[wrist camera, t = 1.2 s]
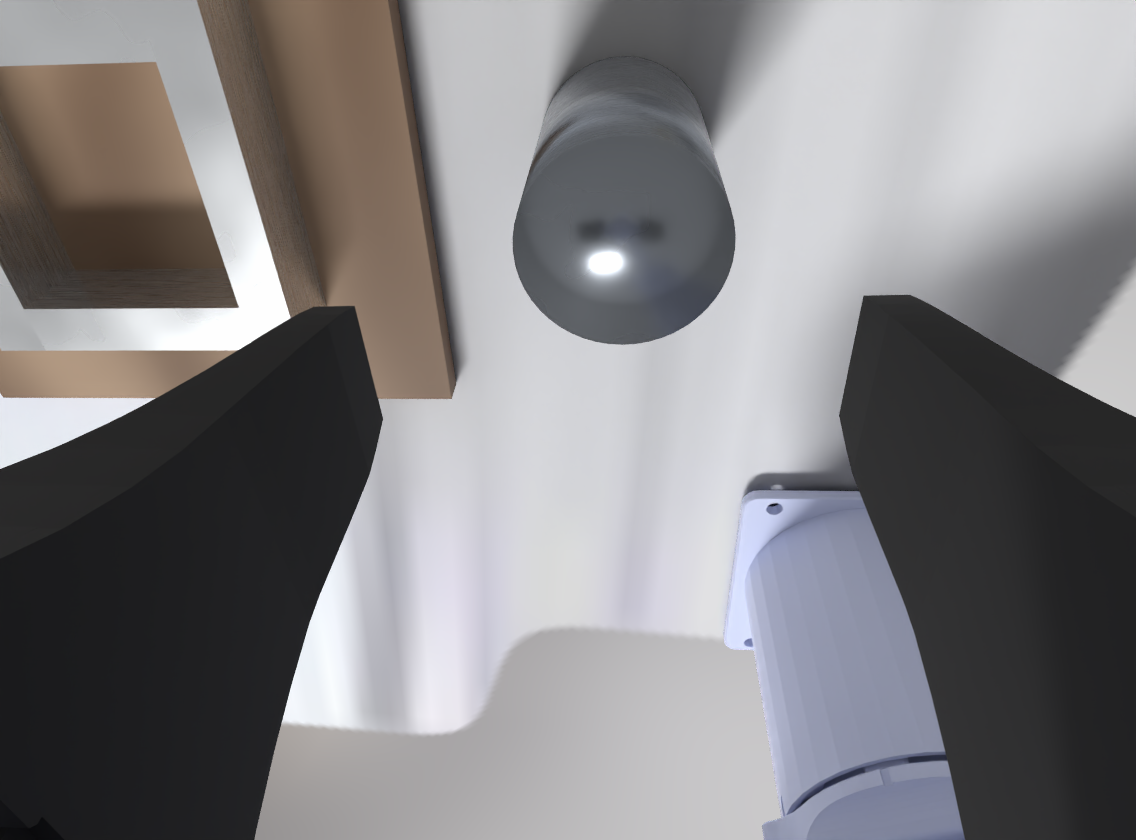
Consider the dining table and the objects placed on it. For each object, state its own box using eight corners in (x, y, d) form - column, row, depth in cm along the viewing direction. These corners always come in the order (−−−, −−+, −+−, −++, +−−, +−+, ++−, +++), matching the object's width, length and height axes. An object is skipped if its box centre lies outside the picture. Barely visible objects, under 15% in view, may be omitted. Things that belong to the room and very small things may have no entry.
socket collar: (241, -25, 16) (194, -9, 14) (327, 307, 21) (299, 349, 19) (-110, -12, 16) (-198, 4, 15) (53, 309, 21) (1, 350, 19)
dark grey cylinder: (711, 54, 17) (746, 133, 12) (699, 222, 19) (724, 344, 15) (535, 59, 17) (503, 138, 13) (545, 224, 20) (521, 344, 15)
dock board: (364, -219, 14) (352, -222, 14) (456, 383, 23) (451, 398, 22) (-306, -183, 15) (-346, -185, 15) (19, 383, 24) (3, 397, 23)
